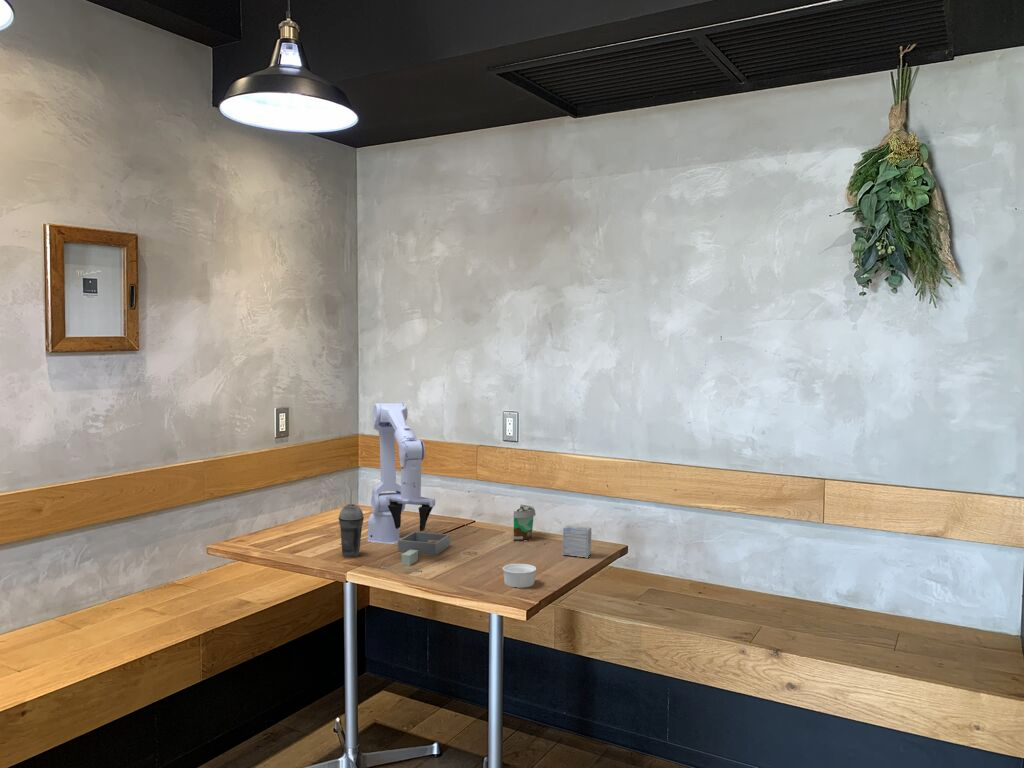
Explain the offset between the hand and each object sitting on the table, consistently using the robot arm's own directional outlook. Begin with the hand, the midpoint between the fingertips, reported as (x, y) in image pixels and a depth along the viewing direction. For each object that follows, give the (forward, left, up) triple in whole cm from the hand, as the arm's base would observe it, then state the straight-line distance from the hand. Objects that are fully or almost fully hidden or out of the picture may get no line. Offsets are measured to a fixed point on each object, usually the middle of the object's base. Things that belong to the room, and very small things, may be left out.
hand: (410, 529), depth 222 cm
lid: (+2, -4, -10) cm, 11 cm away
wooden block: (+2, +14, -9) cm, 16 cm away
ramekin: (+36, -10, -10) cm, 38 cm away
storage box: (0, +12, -9) cm, 15 cm away
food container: (+25, +38, -9) cm, 46 cm away
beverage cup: (-17, -3, -9) cm, 20 cm away
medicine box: (+45, +23, -10) cm, 51 cm away
